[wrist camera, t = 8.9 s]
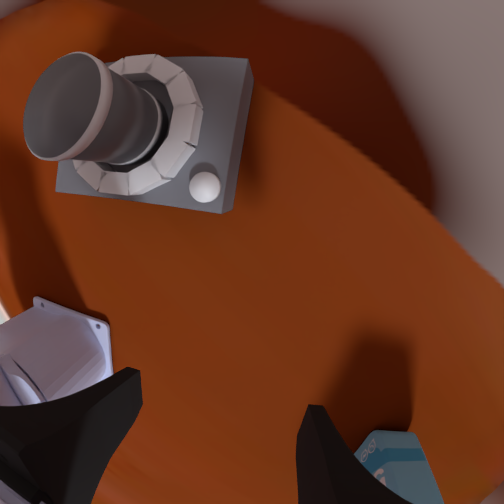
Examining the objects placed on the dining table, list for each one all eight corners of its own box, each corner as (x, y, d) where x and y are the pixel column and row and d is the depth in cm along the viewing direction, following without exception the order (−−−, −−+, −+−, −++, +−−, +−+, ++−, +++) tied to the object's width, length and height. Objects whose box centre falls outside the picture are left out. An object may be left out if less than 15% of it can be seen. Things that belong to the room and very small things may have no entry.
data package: (376, 422, 22) (406, 526, 10) (412, 425, 22) (450, 516, 10) (323, 487, 24) (327, 571, 13) (356, 489, 24) (367, 567, 12)
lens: (100, 168, 16) (17, 165, 9) (107, 98, 15) (32, 67, 8) (166, 165, 15) (94, 154, 9) (173, 88, 14) (111, 38, 8)
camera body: (84, 189, 20) (42, 192, 15) (104, 80, 18) (67, 61, 13) (232, 209, 19) (215, 216, 14) (254, 80, 17) (244, 47, 12)
